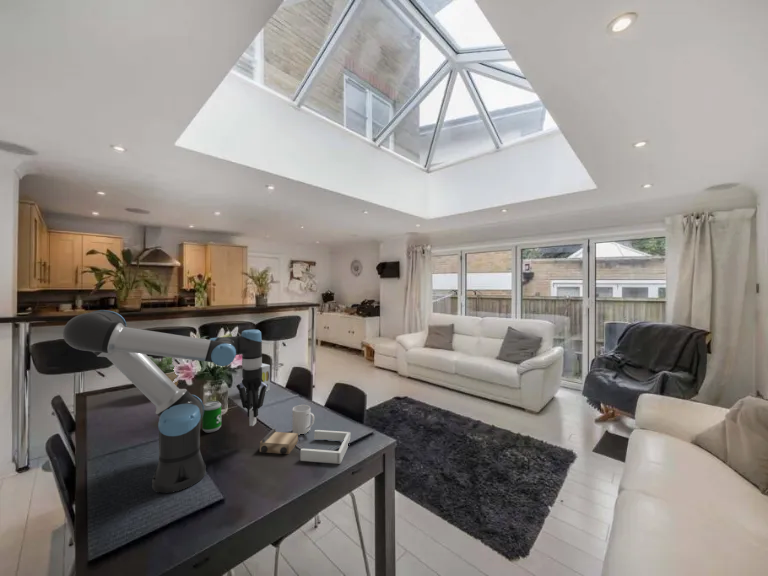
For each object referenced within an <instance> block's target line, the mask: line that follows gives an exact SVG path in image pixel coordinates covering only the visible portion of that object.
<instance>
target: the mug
mask: <svg viewBox="0 0 768 576" xmlns="http://www.w3.org/2000/svg"><path fill="white" fill-rule="evenodd" d="M311 411H312V410H311V406H310V405H307V404H299V405H295V406H293V407H292V423H291V425H292V426H291V427H292V432H291V433H298V436H301V435H300V434H304V433H307V432H308V431H309V430H310V431H311V427H313V425H314V423H315V419H316V418H315V415H314V413H313V412H311ZM307 434H308V433H307ZM304 435H305V434H304Z"/></svg>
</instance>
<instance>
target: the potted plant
mask: <svg viewBox="0 0 768 576" xmlns="http://www.w3.org/2000/svg"><path fill="white" fill-rule="evenodd" d="M147 356H148V355H147ZM148 357H149V358H150V359H151V360H152V361H153V362H154V363H155V364H156V365H157V366H158V367H159V368H160V369H161V370H162V372H163V373H164V374H165V375H166V376H167V377H168V378H169V379H170V380H171V381H172V382H173V381H174V379H175V378H176V377H177V375H176V374H175V372H174V370H173V369H174V367H175V366H176V365H174V364H173V357H165V356H162V358H161V360H159V359H158V358H154V357H153V356H151V355H149V356H148ZM174 384H175V385H176V386H177V387H178V384H179V380H178V381H177V382H175V383H174Z"/></svg>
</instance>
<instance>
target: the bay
mask: <svg viewBox="0 0 768 576" xmlns="http://www.w3.org/2000/svg"><path fill="white" fill-rule="evenodd" d="M351 434H352V433H351V431H338V430H337V431H336V430H327V429H326V430H325V429H324V430H323V429H322V430H321V429H315V430H314V435H313V436H314V439H332V440H344V441H343V442H341V445H340V446H339V449H338V450H330V449H329V450H328V449H316V448H315V449H313V448H301V449H300V462H311V463H313V462H314V463H323V464H324V463H325V464H339V465H341V463H342V461H343V459H344V456H345V455H346V452H347V451H348V448H349V446H348V443H349V441H350V439H351ZM351 440H352V439H351Z"/></svg>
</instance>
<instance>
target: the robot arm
mask: <svg viewBox="0 0 768 576" xmlns="http://www.w3.org/2000/svg"><path fill="white" fill-rule="evenodd" d="M62 336H63V340H64V342H65V343H66V344H68V346H70V347H72V348H73V349H76V350H79V351H85V352H91V353H93V354H94V355H95V356H96V357H97V358H98V357H101V358H107V360H109V362H111V364H113V365H114V366H115V368H117V369H118V371H120V373H122V375H124V376H125V377H126V379H127V380H129V381H130V382H131V383H132V384H133V385H134V386H135V387H136V388H137V389H138V390H139V391H140V392H141V393H142V394H143V395H144V396H145V398H147V399H148V400H149V401H150V402H151V403H152V404H153V405H154V406H155V414H156V416H158V417H159V419H158V423H157V427H158V462H157V465H156V467H155V471H154V474H153V477H152V480H151V488H152V490H153V491H154V490H155V491H154V492H156V491H157V492H156V493H159V492H171V493H174V492H173V491H176V492H179V491H178V490H180V491H183V490H186V489H188V488H190V487H192V486H194V485H195V483H196V484H197V483H198V482H199V483H200V481H201V480H202V479H203V478H204V477H205V475H206V470H207V469H206V468H207V467H206V462H205V461H204V460H203V456H202V453H201V447H200V446H201V424H202V417H203V414H204V404H203V401H202V399H201V398H199V397H198V396H197V395H195V394H191V392H190V391H189V390H188V389H186V388H179V386H178V385H177V386H176V385H175V384H174V383H173V382H172V381H171V380H170V379H169V378H168V377H167V376H166V375H165V374H164V373H163V372H162V370H161V369H160V368H159V367H158V366H157V365H156V364H155V363H154V362H153V361H152V360H151V359H150V358H149V357H148V355H149V356H155V357H156V356H158V357H163V356H165V357H172V359H173V358H174V359H175V358H176V359H181V360H182V359H183V360H191V361H199V362H205V363H213V364H214V365H216V366H218V367H219V366H220V367H225V366H228V365H230V364H231V363H233V361H234V360H235V358H236V356H240V355H241V367H242V370H241V375H242V380H241V382H240V383H238V384H237V385H236V388H237V390H238V392H239V397H240V400H241V401H240V402H241V406H242V408H243V409H246V410H247V417H248V418H249V423H248V424H249V427H254V426H255V425H256V424H257V417H258V416H259V409H260V408H262V406H263V405H264V401H265V396H266V393H265V392H266V389H267V387H268V384H265V383H263V380H262V367H261V366H262V363H263V355H262V354H263V351H262V350H263V341H262V339H263V338H262V331H260V330H259V329H245V330H242V331H241V334H240V335H237V336H236V335H234V336H222V337H220V336H217V337H211V338H209V339H208V338H207V339H206V338H198V337H192V336H187V335H181V334H173V333H166V332H160V331H154V330H149V329H140V328H135V327H128V325H127V322H126V320H125V318H124V317H123V316H122V315H121V314H119V313H118V312H115V311H111V310H105V309H100V310H95V311H91V312H86V313H82V314H78V315H75V316H74V317H72V318H71V319H70V320H68V321H67V323H66V324H65V325H64V327H63V330H62ZM260 386H261V391H260V395H259V396H258V391H259V387H260ZM193 484H194V485H193ZM191 485H192V486H191ZM189 486H190V487H189ZM187 487H188V488H187ZM185 488H186V489H185ZM182 489H183V490H182Z"/></svg>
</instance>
